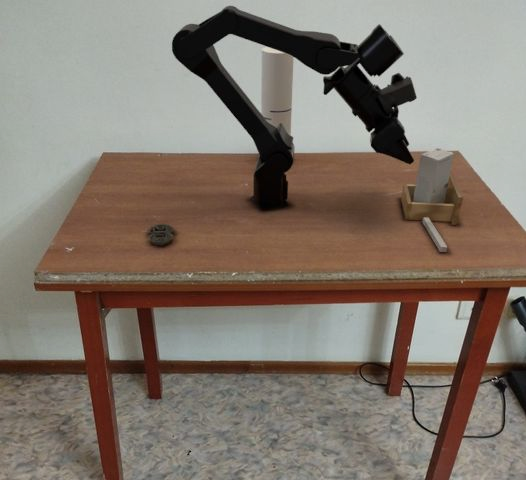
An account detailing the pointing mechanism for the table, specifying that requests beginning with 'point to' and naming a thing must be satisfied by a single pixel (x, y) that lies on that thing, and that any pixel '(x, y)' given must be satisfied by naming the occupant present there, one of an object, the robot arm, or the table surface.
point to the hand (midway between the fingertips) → (409, 154)
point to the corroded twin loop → (160, 234)
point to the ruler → (434, 234)
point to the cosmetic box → (433, 176)
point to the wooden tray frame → (433, 204)
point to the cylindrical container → (277, 87)
